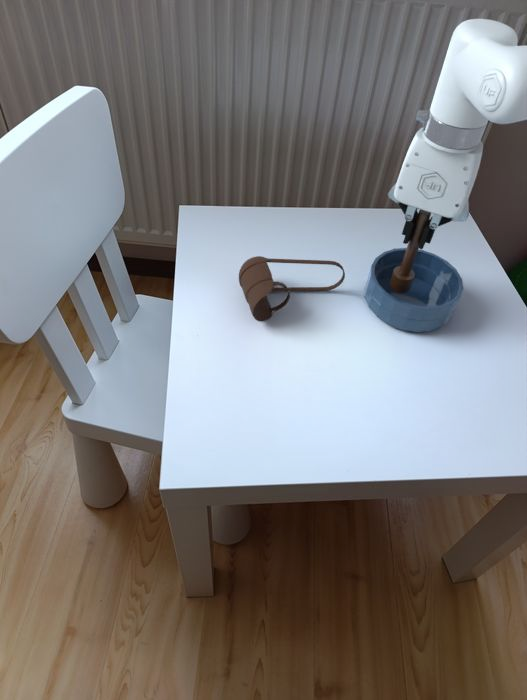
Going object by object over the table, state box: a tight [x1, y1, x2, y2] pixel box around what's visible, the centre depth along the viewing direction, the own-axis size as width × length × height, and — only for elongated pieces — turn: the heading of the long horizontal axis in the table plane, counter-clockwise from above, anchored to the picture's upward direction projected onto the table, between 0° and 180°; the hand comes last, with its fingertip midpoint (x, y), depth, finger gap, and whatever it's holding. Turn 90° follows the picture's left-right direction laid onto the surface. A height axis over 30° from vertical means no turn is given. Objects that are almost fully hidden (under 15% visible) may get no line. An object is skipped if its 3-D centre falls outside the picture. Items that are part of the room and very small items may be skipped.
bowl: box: [364, 247, 464, 333], centre depth 91 cm, size 15×15×6 cm
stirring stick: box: [389, 209, 432, 293], centre depth 86 cm, size 4×4×15 cm
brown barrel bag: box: [238, 255, 346, 322], centre depth 90 cm, size 18×12×7 cm, turn 104°
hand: (415, 241), depth 84 cm, fingers closed on stirring stick
